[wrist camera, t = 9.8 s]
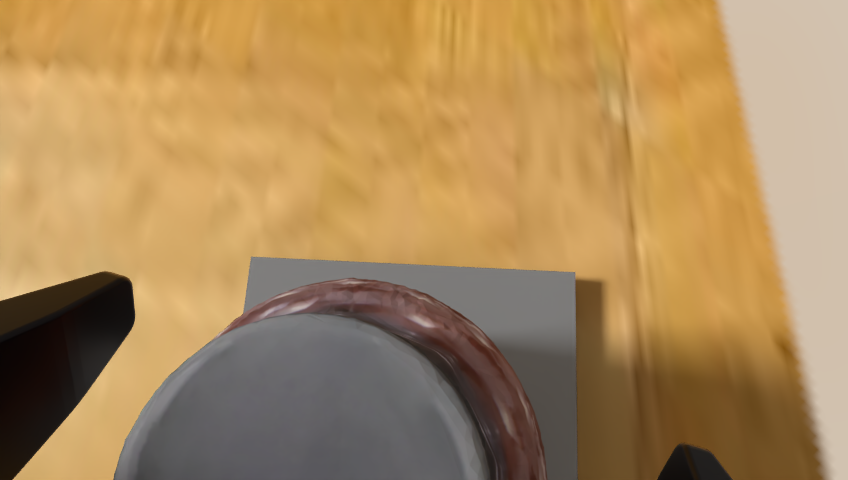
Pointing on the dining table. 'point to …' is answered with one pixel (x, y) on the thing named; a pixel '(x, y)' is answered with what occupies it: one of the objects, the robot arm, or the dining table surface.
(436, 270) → the coaster
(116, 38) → the dining table surface
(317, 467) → the supplement bottle
